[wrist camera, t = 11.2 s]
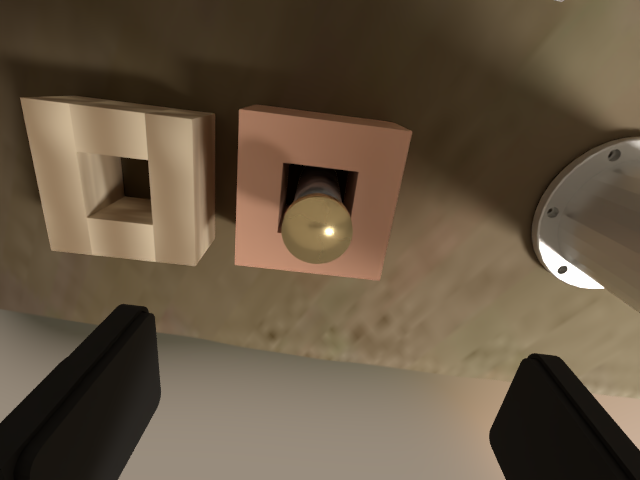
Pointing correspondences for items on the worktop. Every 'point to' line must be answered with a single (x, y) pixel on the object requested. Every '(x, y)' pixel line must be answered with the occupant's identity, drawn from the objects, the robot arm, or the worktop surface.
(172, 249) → the mount
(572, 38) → the worktop surface
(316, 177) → the pin
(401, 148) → the dock
